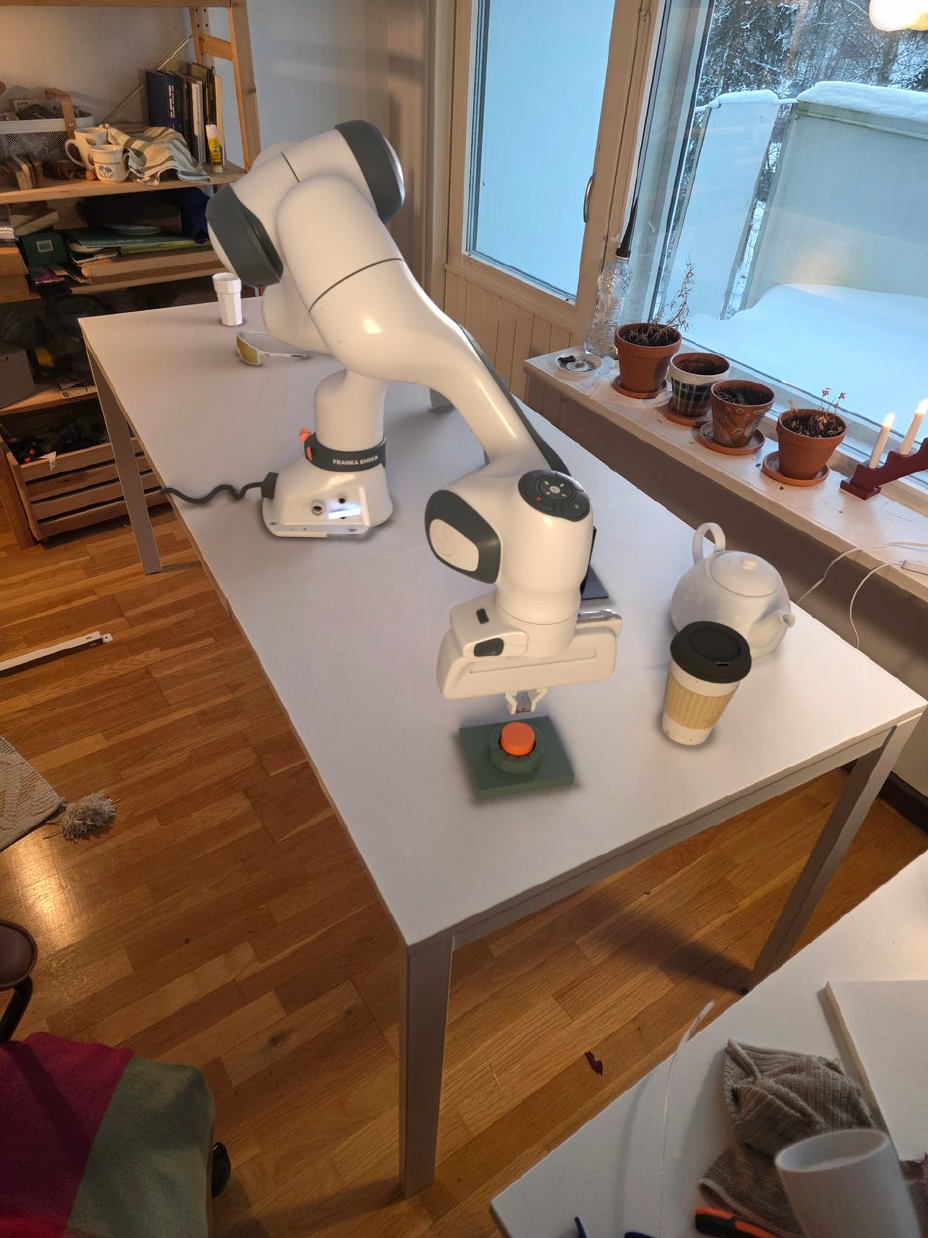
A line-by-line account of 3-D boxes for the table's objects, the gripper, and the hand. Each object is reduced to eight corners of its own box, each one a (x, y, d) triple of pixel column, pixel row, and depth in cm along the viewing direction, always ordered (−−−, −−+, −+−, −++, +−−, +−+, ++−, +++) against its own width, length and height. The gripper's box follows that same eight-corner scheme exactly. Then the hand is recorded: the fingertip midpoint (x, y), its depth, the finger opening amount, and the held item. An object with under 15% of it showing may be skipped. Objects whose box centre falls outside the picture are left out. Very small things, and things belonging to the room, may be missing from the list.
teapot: (797, 617, 126) (827, 545, 117) (767, 686, 113) (799, 612, 105) (683, 575, 132) (704, 504, 124) (643, 636, 120) (663, 563, 111)
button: (505, 758, 97) (507, 749, 95) (496, 734, 99) (498, 724, 98) (537, 753, 97) (539, 744, 96) (527, 729, 100) (529, 719, 99)
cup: (238, 315, 207) (232, 270, 200) (250, 323, 203) (245, 278, 196) (214, 319, 203) (207, 274, 196) (225, 328, 200) (219, 282, 192)
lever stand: (540, 610, 123) (551, 541, 115) (523, 574, 130) (533, 507, 122) (607, 602, 126) (623, 535, 117) (587, 568, 132) (600, 502, 124)
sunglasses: (228, 346, 191) (228, 325, 188) (289, 346, 198) (290, 326, 195) (245, 369, 182) (246, 347, 179) (309, 369, 189) (310, 348, 186)
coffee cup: (711, 701, 111) (742, 618, 101) (731, 756, 103) (767, 673, 93) (641, 699, 110) (665, 616, 100) (656, 755, 102) (684, 671, 93)
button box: (478, 800, 95) (480, 781, 93) (458, 737, 103) (460, 718, 101) (572, 784, 98) (577, 766, 96) (547, 724, 105) (550, 705, 103)
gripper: (614, 591, 90) (593, 679, 99) (435, 609, 85) (430, 700, 94) (636, 627, 85) (613, 716, 94) (448, 649, 81) (442, 741, 89)
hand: (520, 709), depth 94 cm, fingers closed
